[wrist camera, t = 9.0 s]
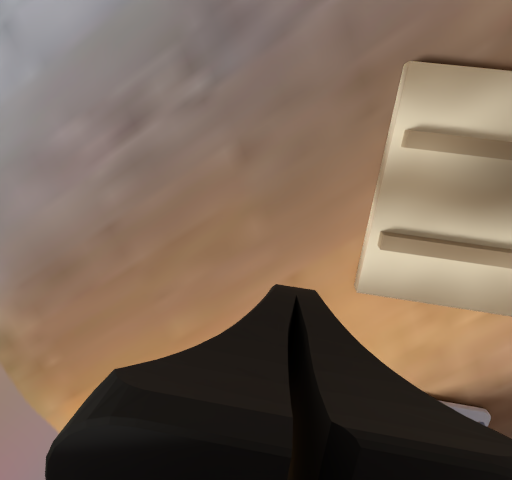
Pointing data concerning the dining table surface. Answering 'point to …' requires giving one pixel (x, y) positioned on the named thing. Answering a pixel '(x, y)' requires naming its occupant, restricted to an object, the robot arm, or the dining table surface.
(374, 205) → the collar rig
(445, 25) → the dining table surface
